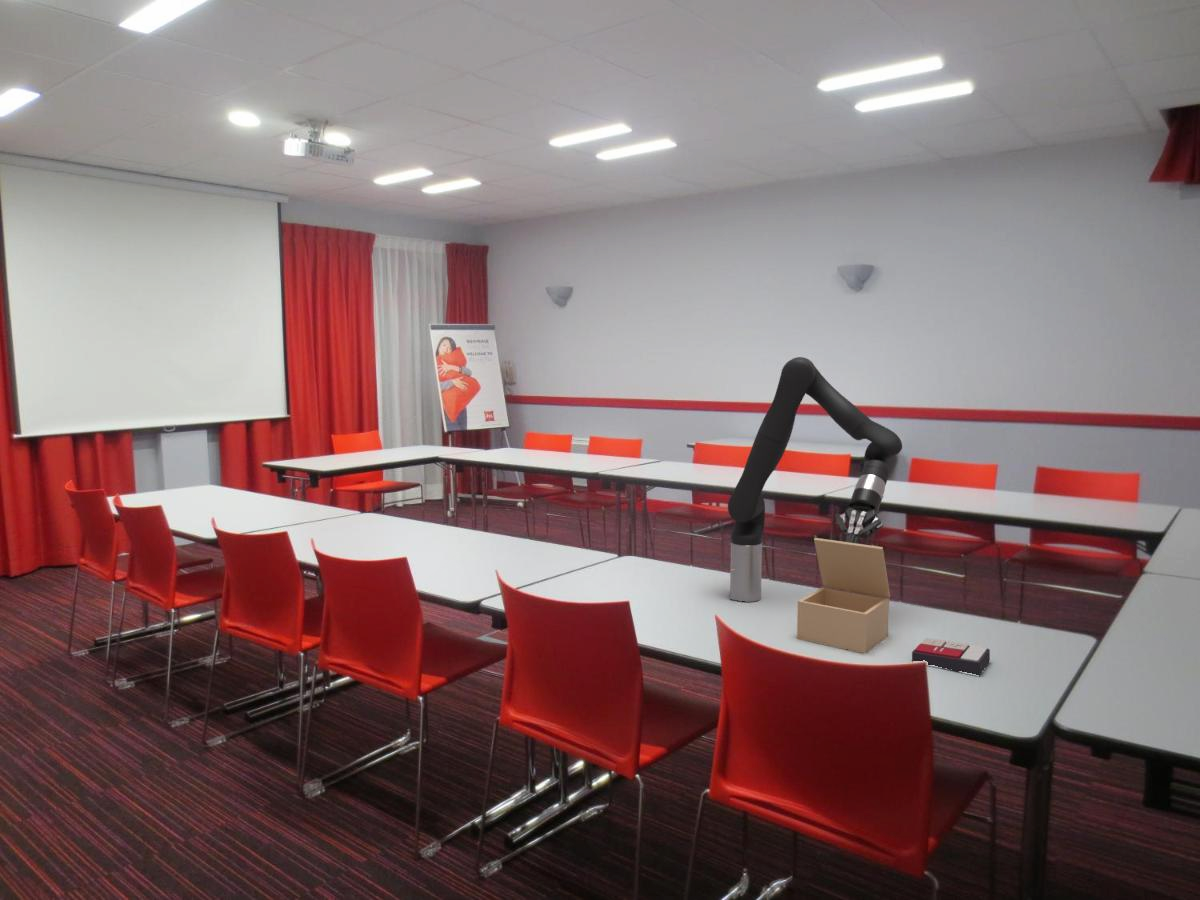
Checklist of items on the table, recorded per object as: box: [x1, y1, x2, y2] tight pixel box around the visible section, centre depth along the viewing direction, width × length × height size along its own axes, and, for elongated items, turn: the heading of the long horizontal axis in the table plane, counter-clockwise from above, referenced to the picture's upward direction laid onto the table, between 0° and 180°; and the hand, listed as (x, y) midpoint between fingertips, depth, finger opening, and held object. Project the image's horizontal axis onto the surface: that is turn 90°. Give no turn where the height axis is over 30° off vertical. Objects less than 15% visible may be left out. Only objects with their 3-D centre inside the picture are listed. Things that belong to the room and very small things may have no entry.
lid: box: [813, 537, 891, 599], centre depth 211 cm, size 16×18×1 cm
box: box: [796, 586, 890, 654], centre depth 209 cm, size 16×18×10 cm
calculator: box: [911, 637, 991, 675], centre depth 192 cm, size 11×4×15 cm
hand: (849, 548), depth 209 cm, fingers closed
